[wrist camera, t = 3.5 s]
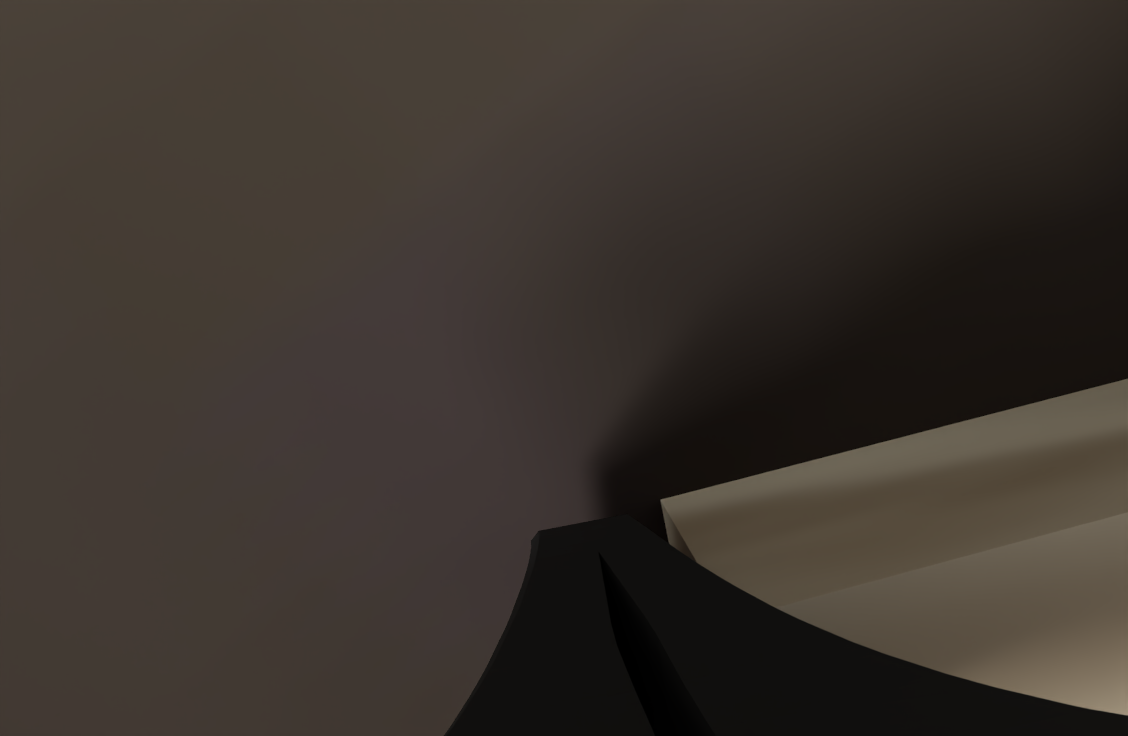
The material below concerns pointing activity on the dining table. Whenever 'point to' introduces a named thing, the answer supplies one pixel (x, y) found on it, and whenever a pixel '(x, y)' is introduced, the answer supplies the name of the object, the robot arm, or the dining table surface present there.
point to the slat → (949, 546)
